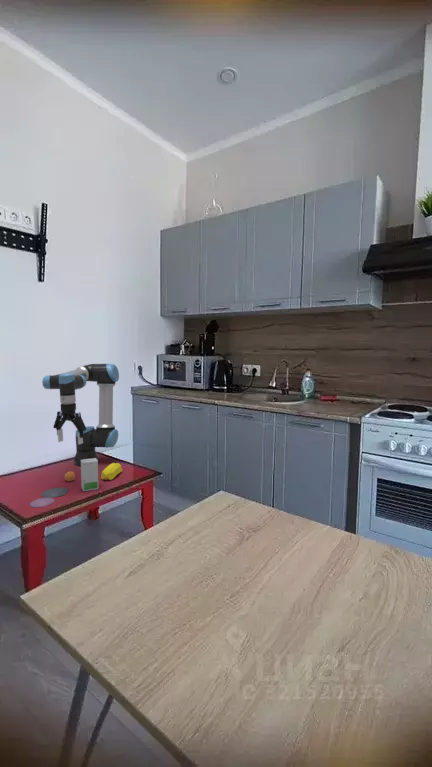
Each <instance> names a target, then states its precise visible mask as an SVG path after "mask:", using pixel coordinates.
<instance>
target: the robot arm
mask: <svg viewBox="0 0 432 767" xmlns="http://www.w3.org/2000/svg"><path fill="white" fill-rule="evenodd" d="M119 380H120V373H119V368H118V367H117V366H116V364H114V363H90V364H85V365H82V366H78V367H76V368H75V369H74V370H69V371H66V372H62V373H58V374H54V375H50V374H49V375H44V376H43V378H42V387H43V388H44V389H45V390H59V398H60V400H59V401H60V410H59V411H57V412H56V417H55V421H54V424H53V429H56V435H57V442H58V443H60V442H64V432H63V431H64V429H63V426H64V424H65V423H66V422H67V421H69V422H71V423H72V424H73V425H74V428H76V430H75V448H76V449H75V450H76V453H75V455H74V458H73V459H74V460H73V464H74V465H75V466H78V467H79V466H80V467H81V460H83V459H92V458H96V459H97V460H98V462H99V456H98V454H97V451H96V448H106V449H107V448H108V449H109V448H113V447H115V446H116V444H117V443H118V440H119V430H117V429H116V426H115V424H114V423H113V422H114V421H113V419H114V417H113V416H114V415H113V413H114V409H113V408H114V386H116V382H118V381H119ZM87 382H96V385H97V386H98V390H99V391H98V424H97V425H96V427H94V426H90V425H89V426H86V424H85V422H84V420H83V418H82V414H81V412H79V411H78V412H76V410H77V403H76V401H77V400H76V390H80V389H83V388H85V386H86V385H87Z"/></svg>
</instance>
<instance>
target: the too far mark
mask: <svg viewBox="0 0 432 767" xmlns="http://www.w3.org/2000/svg"><path fill="white" fill-rule="evenodd" d="M54 503H55V498H44V497H41V498H37V499H36V498H35V499H34V500H33V501H31V502H29V506H30V507H31V508H44V507H48V506H50V505H52V504H54Z"/></svg>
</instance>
